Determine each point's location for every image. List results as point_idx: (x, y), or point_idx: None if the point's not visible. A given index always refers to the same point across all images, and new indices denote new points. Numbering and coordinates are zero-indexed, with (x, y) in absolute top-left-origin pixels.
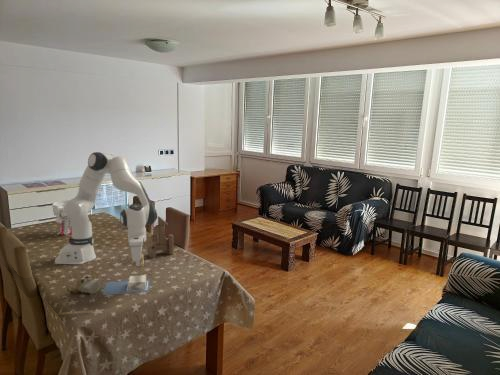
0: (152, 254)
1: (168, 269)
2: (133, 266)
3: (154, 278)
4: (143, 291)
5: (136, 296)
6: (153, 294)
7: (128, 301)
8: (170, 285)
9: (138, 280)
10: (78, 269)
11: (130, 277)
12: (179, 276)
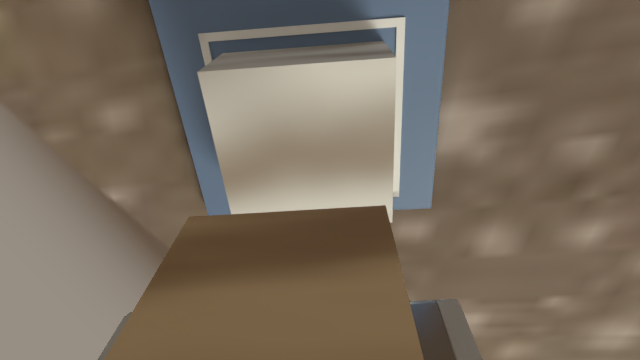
0: None
1: (608, 297)
2: (186, 241)
3: (473, 222)
4: (210, 180)
5: (159, 127)
6: None
7: (63, 76)
8: None
9: (264, 170)
10: None
11: (353, 70)
12: None
